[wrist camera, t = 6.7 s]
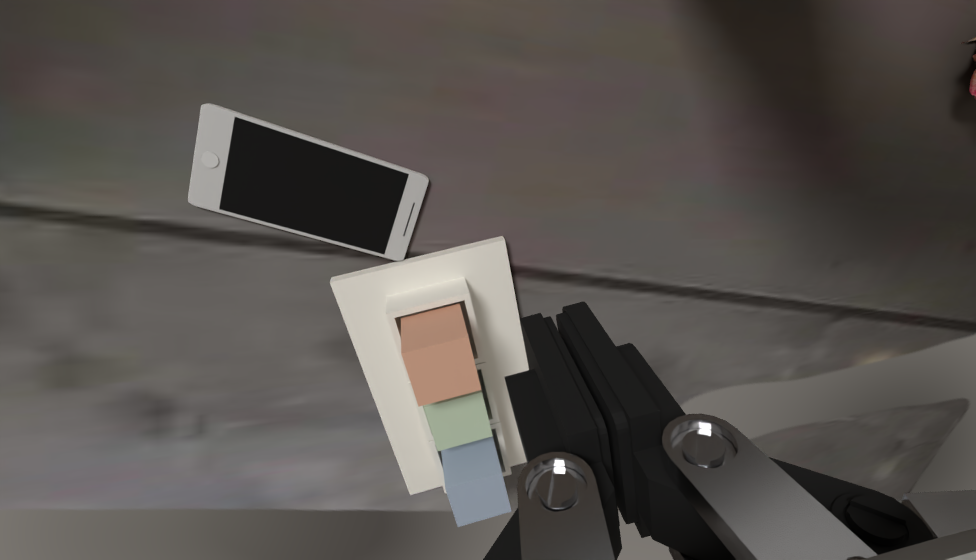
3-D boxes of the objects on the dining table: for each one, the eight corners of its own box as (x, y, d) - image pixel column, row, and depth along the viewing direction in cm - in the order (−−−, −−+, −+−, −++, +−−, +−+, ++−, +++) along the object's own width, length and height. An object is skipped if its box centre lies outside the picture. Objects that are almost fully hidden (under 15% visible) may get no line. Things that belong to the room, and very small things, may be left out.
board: (502, 235, 38) (513, 252, 34) (542, 449, 48) (553, 480, 45) (331, 277, 37) (324, 299, 33) (410, 486, 47) (410, 521, 44)
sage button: (472, 356, 41) (481, 392, 36) (482, 397, 43) (492, 436, 38) (420, 370, 40) (423, 407, 36) (433, 410, 42) (437, 451, 38)
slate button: (490, 429, 41) (502, 472, 37) (499, 465, 43) (511, 511, 39) (440, 442, 41) (445, 488, 37) (451, 479, 43) (457, 527, 39)
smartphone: (206, 100, 31) (200, 101, 30) (429, 175, 35) (430, 177, 35) (191, 200, 33) (186, 204, 32) (402, 259, 38) (402, 263, 37)
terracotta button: (459, 303, 36) (468, 336, 31) (471, 351, 38) (481, 389, 33) (400, 317, 36) (401, 353, 31) (416, 366, 37) (418, 406, 33)
